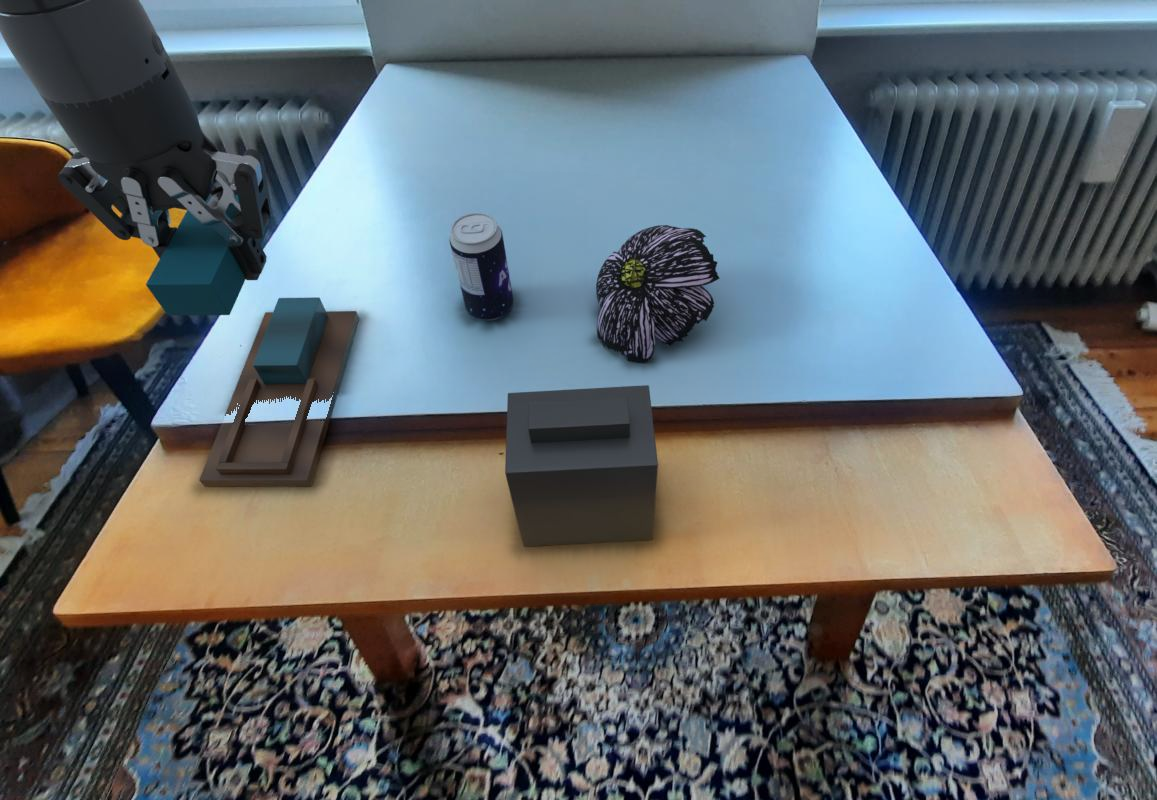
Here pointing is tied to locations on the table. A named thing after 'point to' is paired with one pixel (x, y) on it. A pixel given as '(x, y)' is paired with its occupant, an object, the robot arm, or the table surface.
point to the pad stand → (582, 465)
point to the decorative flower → (654, 290)
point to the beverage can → (481, 266)
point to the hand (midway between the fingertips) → (222, 272)
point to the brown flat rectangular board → (275, 370)
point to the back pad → (197, 271)
